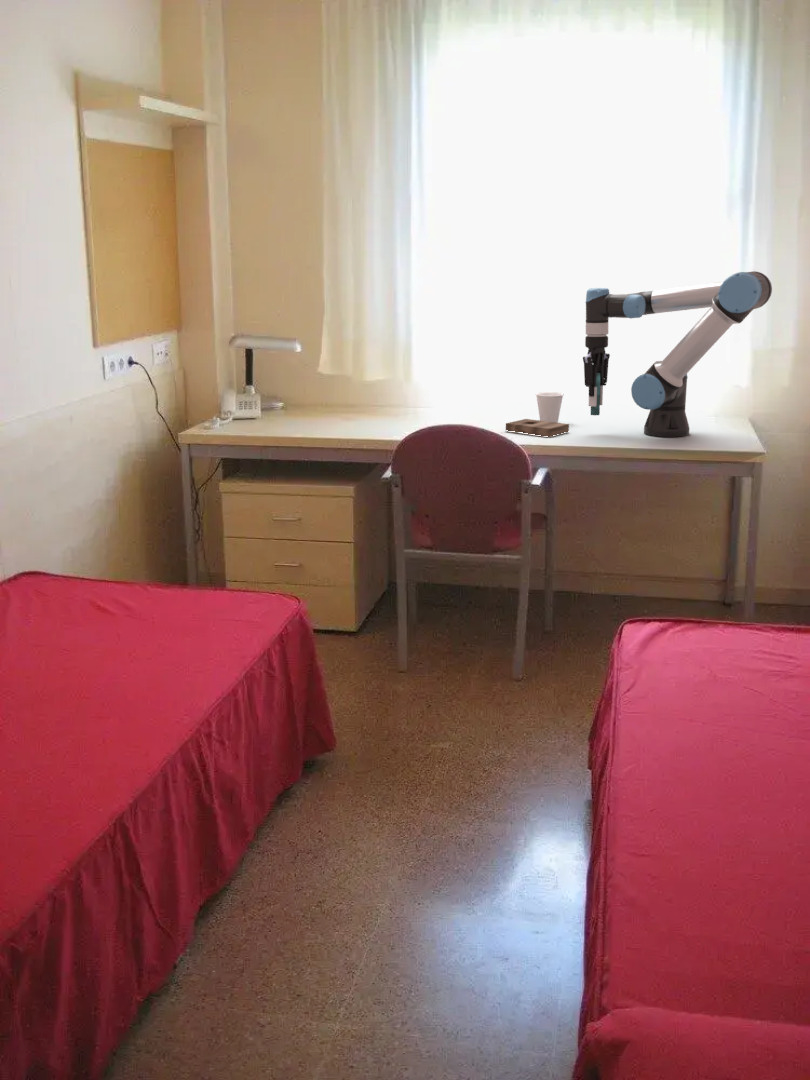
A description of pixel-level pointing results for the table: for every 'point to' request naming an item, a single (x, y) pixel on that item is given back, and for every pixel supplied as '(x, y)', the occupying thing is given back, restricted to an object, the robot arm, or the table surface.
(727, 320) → the robot arm
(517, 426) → the hole plate
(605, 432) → the table surface
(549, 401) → the cup
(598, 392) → the peg
